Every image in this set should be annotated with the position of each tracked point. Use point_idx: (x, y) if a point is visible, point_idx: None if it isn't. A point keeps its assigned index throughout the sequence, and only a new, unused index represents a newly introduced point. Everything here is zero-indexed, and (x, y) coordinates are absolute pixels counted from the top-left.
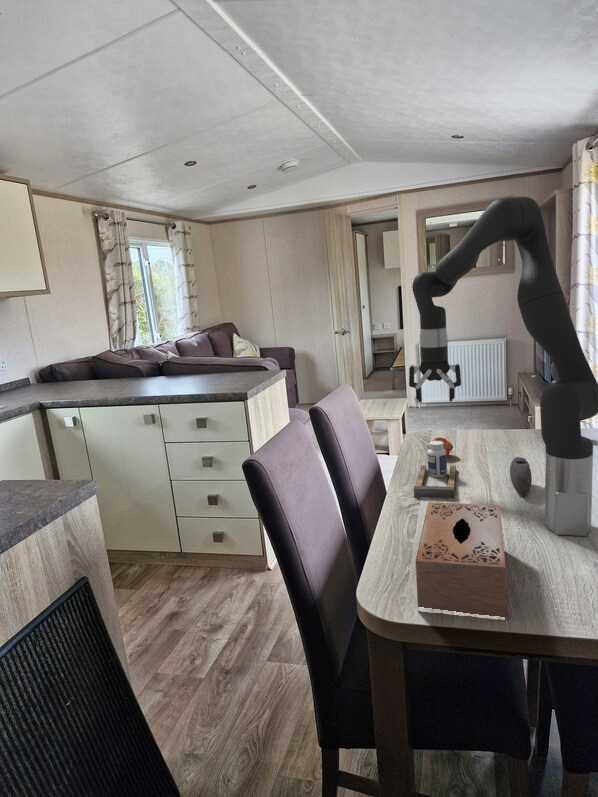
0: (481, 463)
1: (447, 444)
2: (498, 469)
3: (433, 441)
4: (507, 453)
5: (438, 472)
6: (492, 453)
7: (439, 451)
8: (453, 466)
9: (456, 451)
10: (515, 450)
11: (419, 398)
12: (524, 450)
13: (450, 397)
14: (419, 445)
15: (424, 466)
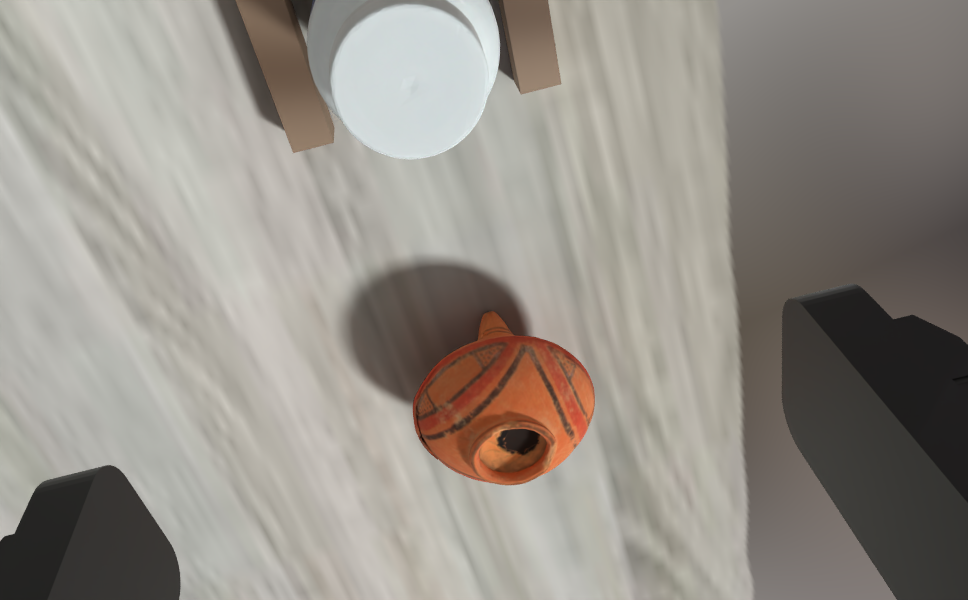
0: (182, 324)
1: (444, 410)
2: (10, 249)
3: (458, 123)
4: None
5: None
6: (199, 499)
7: (355, 4)
8: (299, 124)
9: (424, 468)
10: None
11: (865, 328)
12: None
13: (45, 540)
14: (673, 492)
15: (524, 53)
